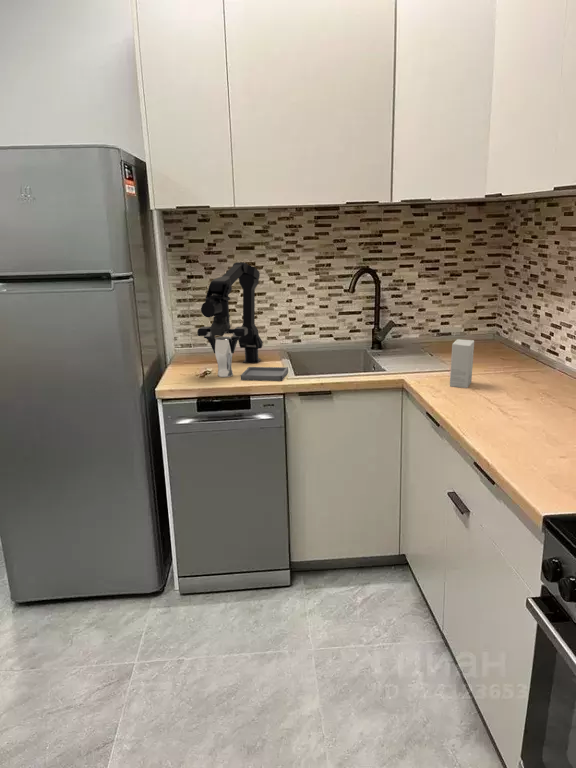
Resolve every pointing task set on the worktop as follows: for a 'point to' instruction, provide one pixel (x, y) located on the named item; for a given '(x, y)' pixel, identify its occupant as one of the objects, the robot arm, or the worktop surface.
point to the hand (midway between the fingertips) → (224, 353)
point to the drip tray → (264, 373)
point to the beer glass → (224, 356)
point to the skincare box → (461, 363)
